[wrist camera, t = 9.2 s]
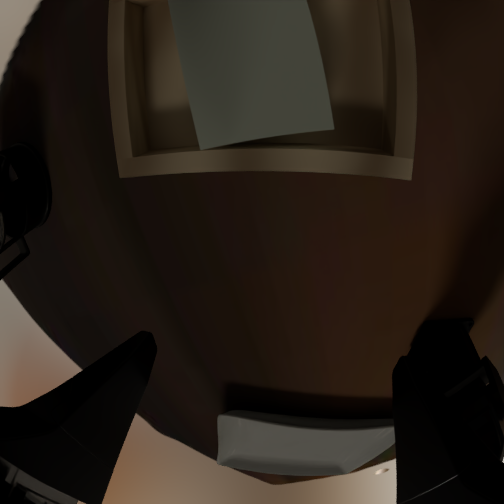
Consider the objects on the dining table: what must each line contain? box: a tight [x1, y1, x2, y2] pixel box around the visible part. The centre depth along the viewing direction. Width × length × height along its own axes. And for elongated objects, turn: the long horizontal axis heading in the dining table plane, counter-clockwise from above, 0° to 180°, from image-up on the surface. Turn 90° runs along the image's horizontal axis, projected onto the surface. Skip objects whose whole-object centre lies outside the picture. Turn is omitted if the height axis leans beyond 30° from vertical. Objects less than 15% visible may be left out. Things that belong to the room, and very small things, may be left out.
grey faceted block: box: [168, 0, 334, 150], centre depth 11 cm, size 6×9×4 cm, turn 11°
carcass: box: [108, 0, 417, 180], centre depth 12 cm, size 17×13×4 cm
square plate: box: [217, 410, 395, 476], centre depth 36 cm, size 27×27×4 cm
